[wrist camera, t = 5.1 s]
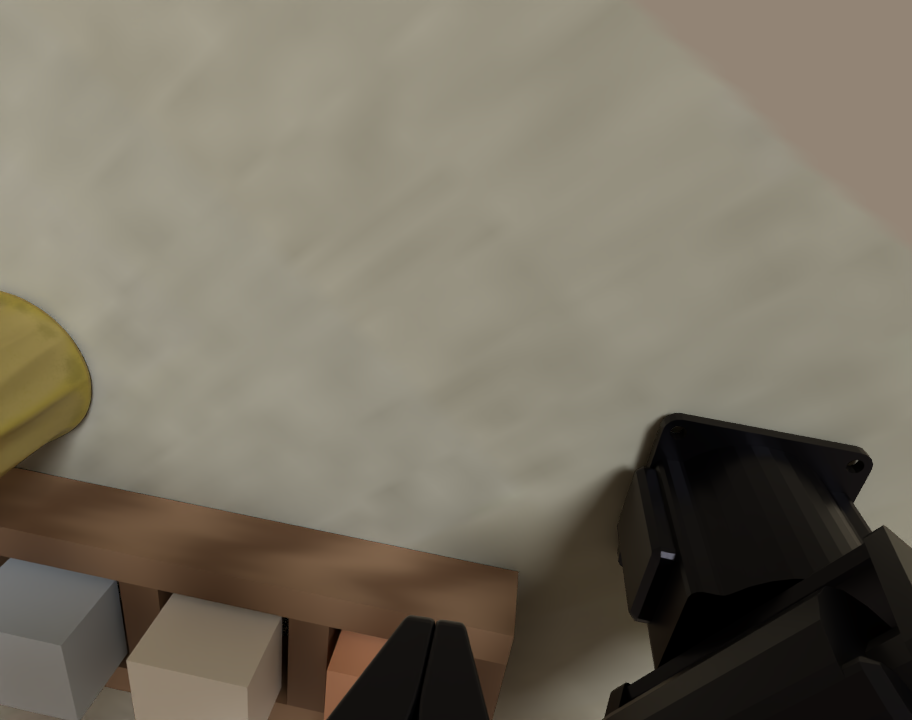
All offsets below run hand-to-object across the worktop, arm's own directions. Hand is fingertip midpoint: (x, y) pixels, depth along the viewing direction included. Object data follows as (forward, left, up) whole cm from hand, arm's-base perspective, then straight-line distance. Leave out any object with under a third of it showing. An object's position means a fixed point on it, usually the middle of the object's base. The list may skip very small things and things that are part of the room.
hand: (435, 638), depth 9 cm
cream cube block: (+8, +14, -10) cm, 19 cm away
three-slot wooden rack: (+8, +14, -12) cm, 20 cm away
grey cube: (+14, +14, -10) cm, 22 cm away
